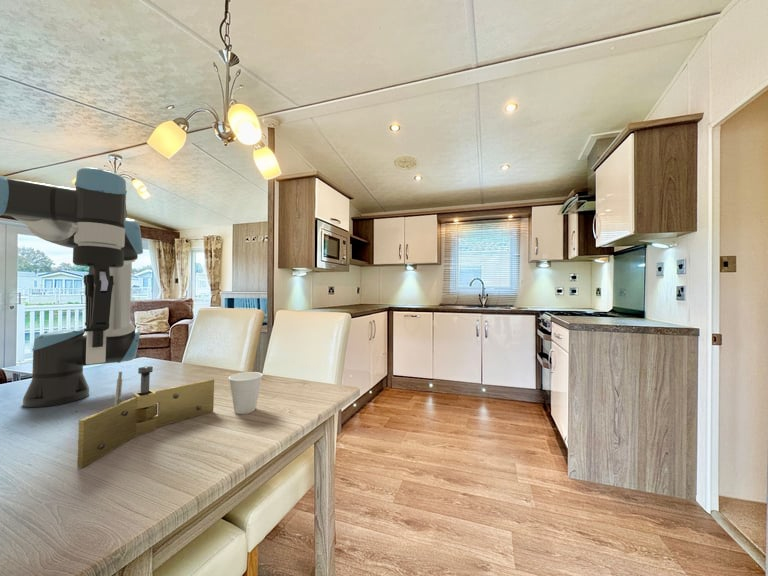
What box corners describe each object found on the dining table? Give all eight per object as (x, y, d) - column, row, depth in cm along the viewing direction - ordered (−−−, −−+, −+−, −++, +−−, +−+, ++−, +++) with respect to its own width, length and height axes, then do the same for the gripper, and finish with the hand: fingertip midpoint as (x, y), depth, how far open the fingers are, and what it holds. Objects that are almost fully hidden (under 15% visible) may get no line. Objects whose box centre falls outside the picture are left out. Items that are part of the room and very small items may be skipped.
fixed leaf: (132, 431, 79) (133, 393, 79) (209, 409, 94) (210, 378, 94) (136, 435, 77) (137, 396, 77) (215, 413, 92) (216, 380, 92)
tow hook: (132, 405, 98) (101, 415, 89) (135, 366, 99) (105, 371, 90) (154, 407, 96) (125, 418, 87) (157, 367, 97) (129, 373, 88)
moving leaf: (69, 467, 62) (71, 420, 62) (141, 426, 81) (143, 390, 82) (89, 467, 62) (91, 420, 62) (156, 426, 81) (157, 390, 82)
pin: (135, 408, 79) (137, 367, 79) (149, 405, 82) (150, 365, 82) (138, 411, 77) (140, 369, 78) (152, 408, 80) (154, 367, 80)
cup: (222, 410, 94) (223, 375, 94) (254, 402, 101) (254, 370, 101) (234, 420, 87) (235, 382, 87) (267, 410, 94) (268, 376, 94)
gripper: (69, 247, 62) (64, 361, 61) (78, 241, 54) (73, 371, 53) (116, 251, 68) (113, 355, 67) (131, 246, 60) (127, 364, 59)
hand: (95, 362), depth 60 cm, fingers closed
